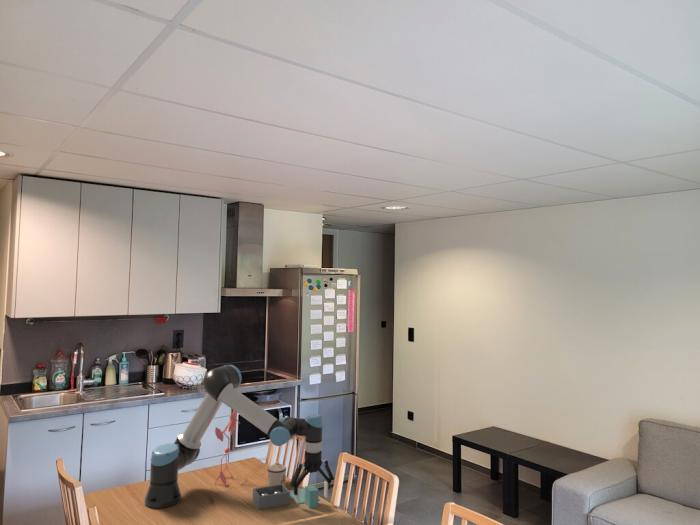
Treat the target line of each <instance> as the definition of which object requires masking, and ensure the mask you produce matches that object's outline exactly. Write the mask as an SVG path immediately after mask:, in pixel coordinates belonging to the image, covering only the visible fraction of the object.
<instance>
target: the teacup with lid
mask: <svg viewBox="0 0 700 525" xmlns="http://www.w3.org/2000/svg"><path fill="white" fill-rule="evenodd" d="M286 473H287V466H286V465H285V464H281V463H280V462H279V461H275V462H274V463H273V464H270V465H269V466H267V486H272V485H278V484H283V485H284V486H285V487H286V480H287V479H286V478H287V477H286V475H287V474H286Z"/></svg>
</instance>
